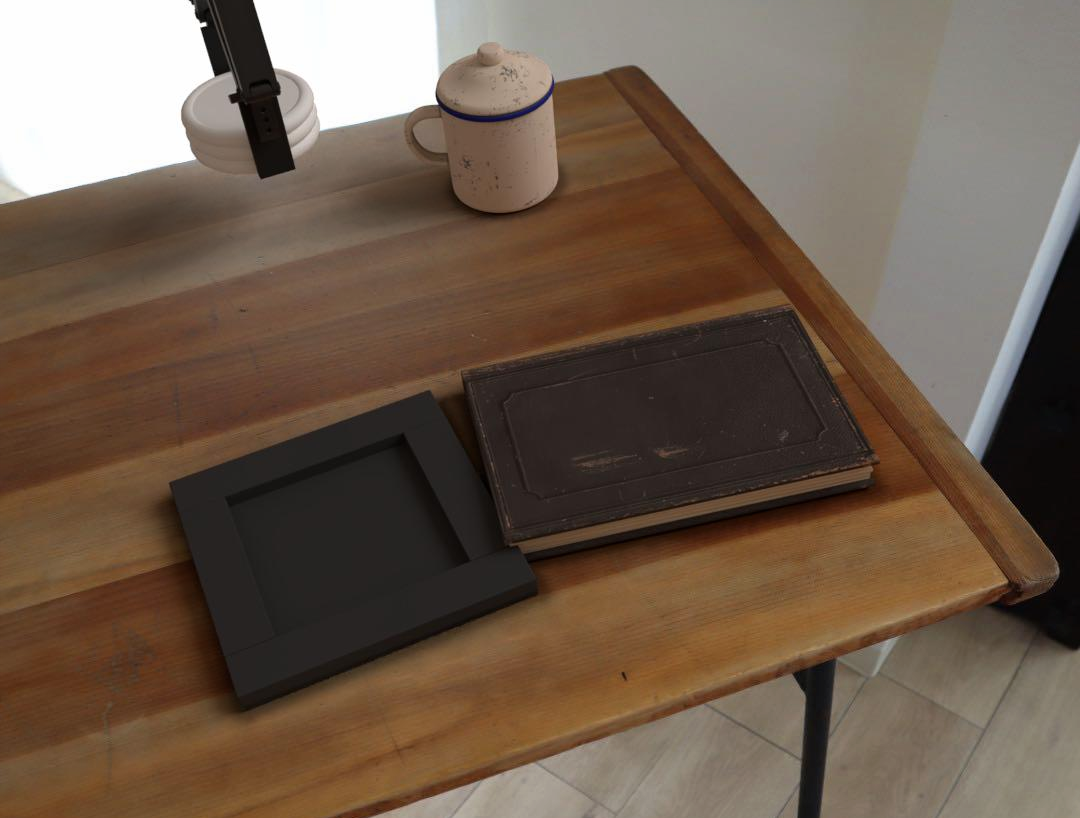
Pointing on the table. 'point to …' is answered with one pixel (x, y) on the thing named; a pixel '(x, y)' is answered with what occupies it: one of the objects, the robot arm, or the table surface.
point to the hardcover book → (662, 432)
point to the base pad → (345, 547)
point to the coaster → (222, 128)
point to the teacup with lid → (494, 129)
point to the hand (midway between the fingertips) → (258, 136)
